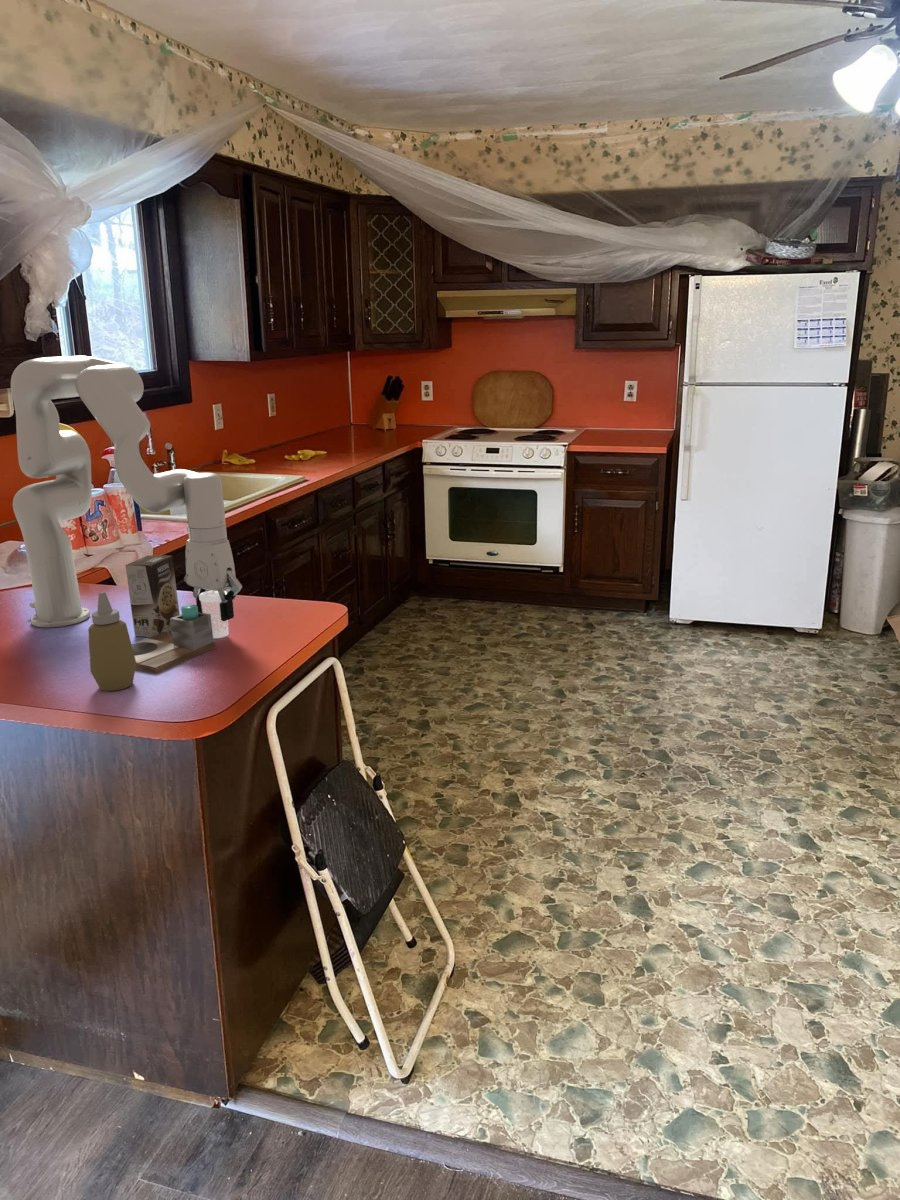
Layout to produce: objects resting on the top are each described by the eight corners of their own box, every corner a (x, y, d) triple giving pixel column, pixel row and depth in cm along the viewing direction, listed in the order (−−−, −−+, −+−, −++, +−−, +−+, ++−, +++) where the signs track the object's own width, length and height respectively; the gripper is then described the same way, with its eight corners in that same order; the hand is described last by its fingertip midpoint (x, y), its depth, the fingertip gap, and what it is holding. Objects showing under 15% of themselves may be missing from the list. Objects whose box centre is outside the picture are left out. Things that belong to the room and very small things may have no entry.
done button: (179, 622, 181) (177, 608, 181) (191, 617, 184) (189, 603, 183) (190, 624, 180) (189, 610, 179) (202, 619, 183) (200, 605, 182)
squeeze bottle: (100, 678, 170) (86, 588, 164) (143, 676, 170) (130, 585, 165) (87, 695, 162) (72, 601, 157) (133, 692, 163) (119, 598, 157)
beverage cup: (228, 628, 194) (223, 565, 190) (235, 636, 189) (229, 572, 184) (200, 632, 191) (193, 569, 187) (205, 641, 186) (199, 576, 182)
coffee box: (160, 638, 192) (150, 565, 187) (134, 636, 193) (123, 564, 188) (182, 624, 200) (173, 554, 195) (156, 623, 202) (147, 554, 197)
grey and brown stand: (103, 661, 179) (97, 627, 177) (164, 637, 192) (160, 605, 190) (156, 673, 172) (151, 637, 170) (215, 647, 185) (211, 614, 183)
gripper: (163, 533, 184) (173, 616, 190) (226, 542, 176) (234, 628, 182) (190, 526, 191) (199, 606, 196) (252, 534, 182) (259, 618, 188)
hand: (215, 616), depth 189 cm, fingers closed on beverage cup, 6 cm apart
